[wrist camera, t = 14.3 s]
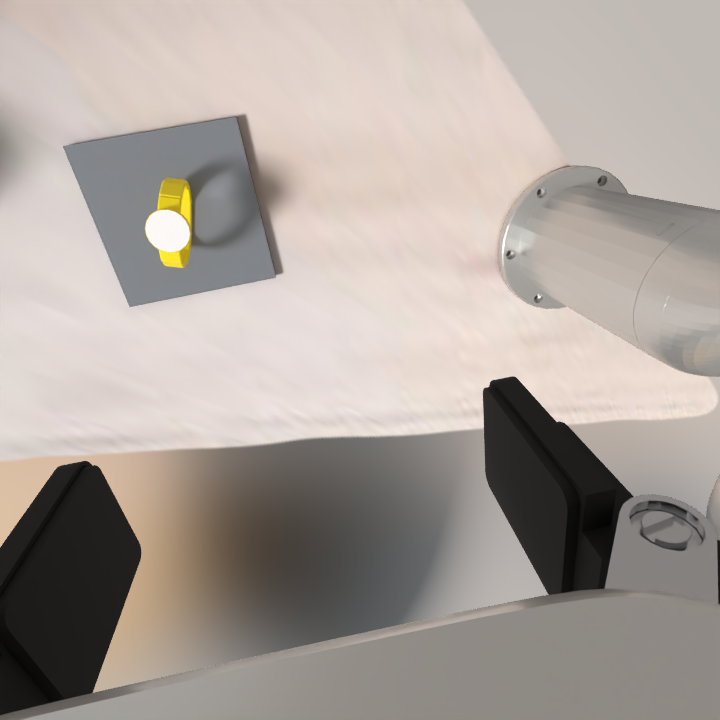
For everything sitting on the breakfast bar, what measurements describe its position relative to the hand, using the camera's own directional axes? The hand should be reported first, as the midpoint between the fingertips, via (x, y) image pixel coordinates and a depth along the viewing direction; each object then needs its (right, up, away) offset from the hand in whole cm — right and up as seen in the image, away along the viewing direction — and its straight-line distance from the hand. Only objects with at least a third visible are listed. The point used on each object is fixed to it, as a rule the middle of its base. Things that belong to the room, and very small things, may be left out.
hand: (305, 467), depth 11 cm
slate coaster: (-13, +14, +24) cm, 31 cm away
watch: (-12, +14, +24) cm, 30 cm away
